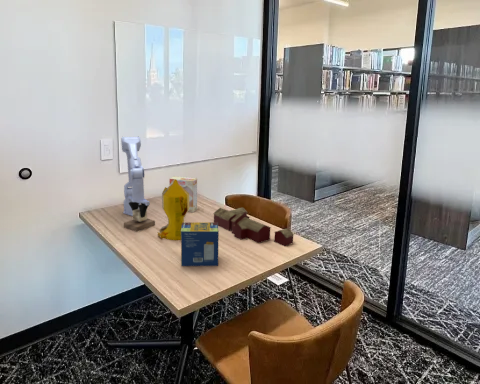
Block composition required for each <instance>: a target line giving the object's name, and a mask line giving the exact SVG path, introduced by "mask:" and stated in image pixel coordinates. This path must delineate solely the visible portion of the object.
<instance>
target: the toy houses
mask: <svg viewBox="0 0 480 384" xmlns="http://www.w3.org/2000/svg"><path fill="white" fill-rule="evenodd" d="M212 215H213V222H218V227H220V228H222V229H224V230H227V231H228V232H231V234H232V235H233V237H234V238H237V239H238V240H243V239H245V240H246V239H249V240H251V241H252V242H255V243H257V244H259V243H263V242H266V241H269V240H270V239H271V229H272V226H269V225H266V224H264V223H261V222H259V221H256V220H255V219H251V218H250V216H248V211H247V210H246V209H245V208H244V207H238V208H235V209H231V210H228V209H224V208H222V207H219V208H218V209H217V210H215V211H214V212H213V214H212ZM294 236H295V234H294V233H293V232H292V231H291V230H290V228H283V229H280V230H277V231H274V240H273V241H274V243H276V244H279V245H281V246H282V247H286V246H289V245H291V243H292V244H293V243H294Z"/></svg>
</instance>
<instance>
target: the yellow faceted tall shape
mask: <svg viewBox="0 0 480 384" xmlns="http://www.w3.org/2000/svg"><path fill="white" fill-rule="evenodd" d="M161 204H162V205H161V206H162V207H161V208H162V210H163V211H164V213H165V215H166V217H167V224H166V225H164V226H162V227H161V228H160V229H159V230H158V232H157V237H159V238H161V239H165V240H166V241H177V242H178V241H181V228H182V223H183V222H185V217H186V214H187V213H189V212H188V210H189V193H188V192H187V191H186V190H185V189H184V188H183V187H182V186H181V185H179V184H178V181H177V180H176V179H175V180H174V181H173V183H172V185H170V184H169V186H168V187H164V189H163V191H162V192H161Z"/></svg>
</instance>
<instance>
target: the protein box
mask: <svg viewBox="0 0 480 384" xmlns="http://www.w3.org/2000/svg"><path fill="white" fill-rule="evenodd" d="M219 231H220V230H219V226H218V222H214V221H213V222H206V221H205V222H203V221H202V222H201V221H200V222H198V221H197V222H185V221H184V222H183V223H182V228H181V240H180V241H181V242H180V261H181V263H180V265H181V267H218V266H219V238H220V237H219V234H220V233H219Z"/></svg>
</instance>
